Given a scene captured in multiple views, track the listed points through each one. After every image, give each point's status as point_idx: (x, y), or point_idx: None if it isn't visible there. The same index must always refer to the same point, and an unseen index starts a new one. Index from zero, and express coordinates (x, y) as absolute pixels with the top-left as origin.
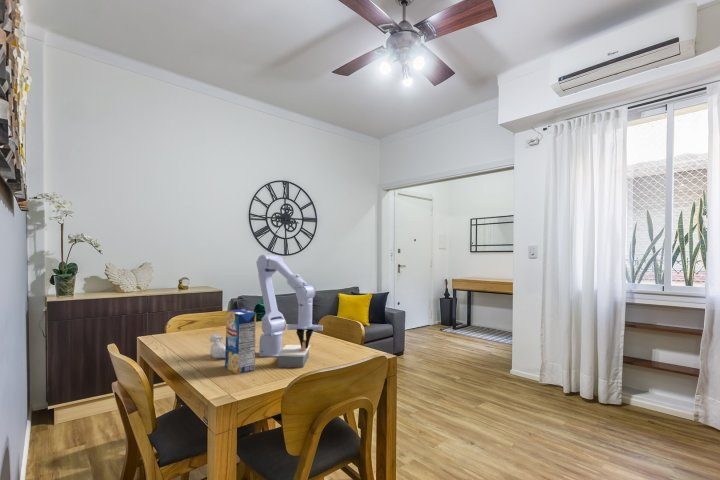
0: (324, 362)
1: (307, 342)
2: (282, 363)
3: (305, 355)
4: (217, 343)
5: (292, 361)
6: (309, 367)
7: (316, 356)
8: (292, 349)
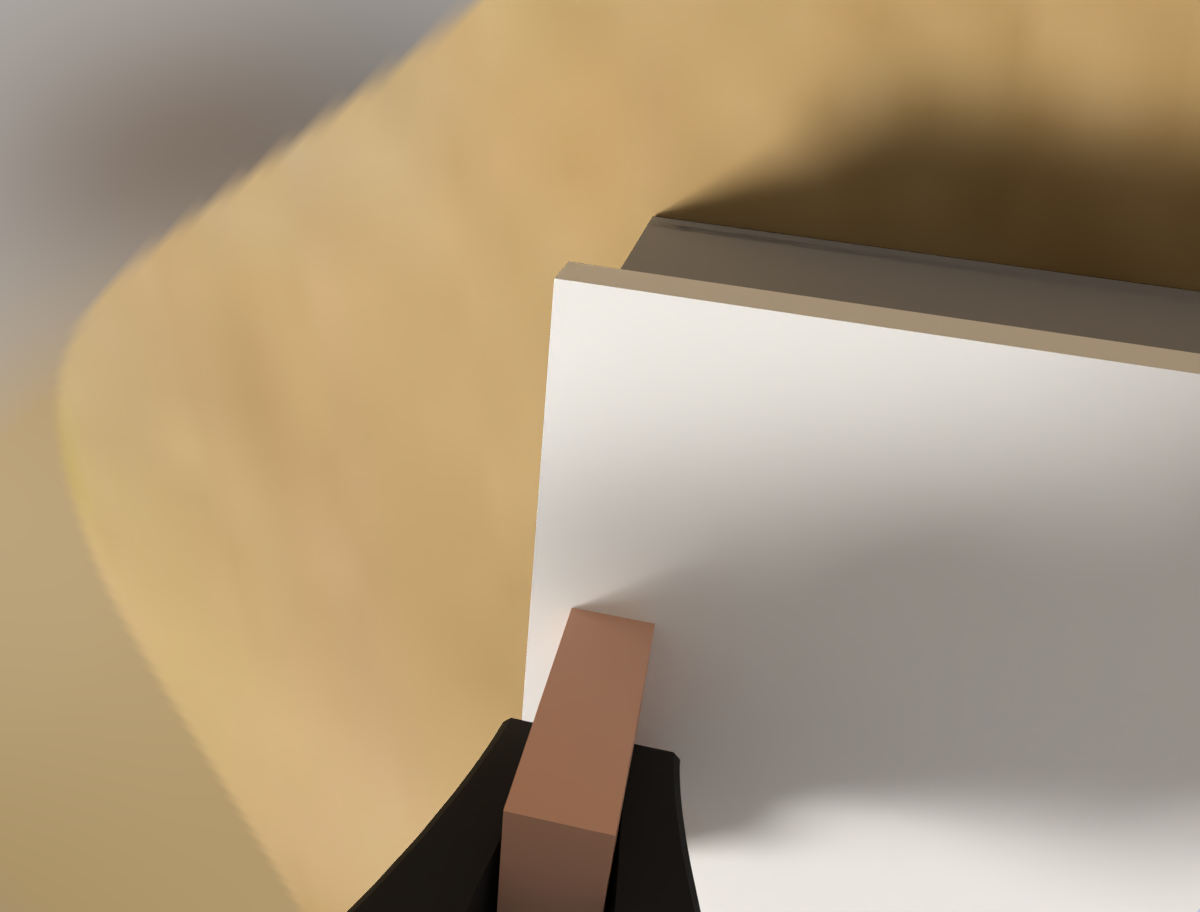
0: (269, 495)
1: (436, 842)
2: (1194, 309)
3: None
4: None
5: (925, 287)
6: (508, 219)
7: None
8: (926, 805)
